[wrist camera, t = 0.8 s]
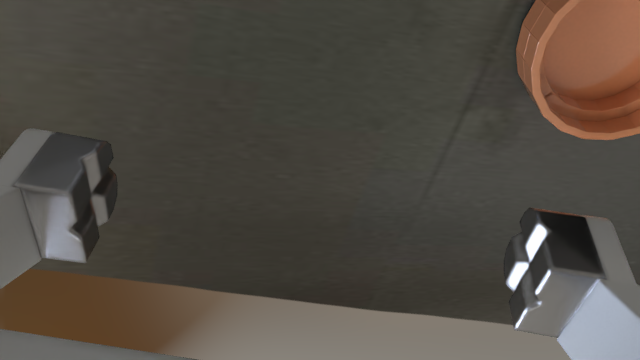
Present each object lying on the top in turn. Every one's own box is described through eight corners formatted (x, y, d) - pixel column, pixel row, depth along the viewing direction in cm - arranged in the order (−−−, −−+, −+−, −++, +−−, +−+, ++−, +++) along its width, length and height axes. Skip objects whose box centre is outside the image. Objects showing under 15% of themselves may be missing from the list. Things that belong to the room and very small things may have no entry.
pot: (539, -57, 52) (561, -42, 47) (722, -48, 52) (760, -32, 48) (498, 110, 61) (512, 136, 56) (653, 116, 61) (680, 143, 57)
